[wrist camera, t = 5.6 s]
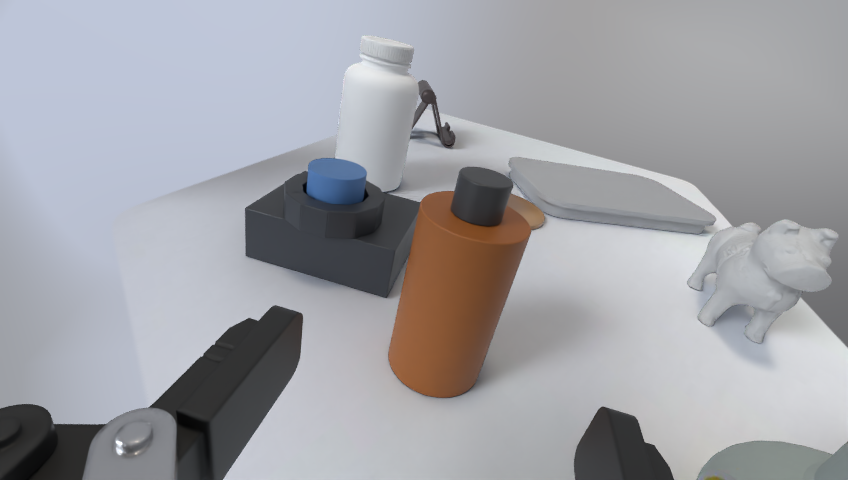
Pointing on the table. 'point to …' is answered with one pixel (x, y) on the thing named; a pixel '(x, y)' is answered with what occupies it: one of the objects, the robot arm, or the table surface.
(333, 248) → the dark grey button base
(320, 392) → the table surface
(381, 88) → the pill bottle
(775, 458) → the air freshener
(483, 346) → the bottle
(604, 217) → the tablet
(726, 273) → the grey animal figurine
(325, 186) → the blue push button
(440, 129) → the tablet stand
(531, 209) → the coaster
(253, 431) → the robot arm
